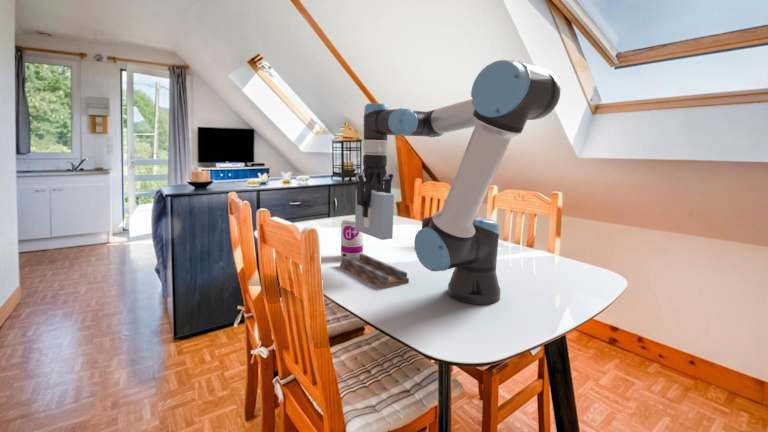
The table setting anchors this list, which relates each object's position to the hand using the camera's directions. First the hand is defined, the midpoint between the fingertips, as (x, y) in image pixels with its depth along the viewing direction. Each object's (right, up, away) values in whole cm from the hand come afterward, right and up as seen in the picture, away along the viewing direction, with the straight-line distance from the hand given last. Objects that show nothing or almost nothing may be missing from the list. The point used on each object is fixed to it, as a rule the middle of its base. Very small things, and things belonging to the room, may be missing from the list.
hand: (373, 226), depth 133 cm
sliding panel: (0, -3, +1) cm, 3 cm away
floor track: (0, -16, +3) cm, 17 cm away
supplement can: (-9, -13, +21) cm, 26 cm away
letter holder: (+30, -11, +38) cm, 49 cm away
